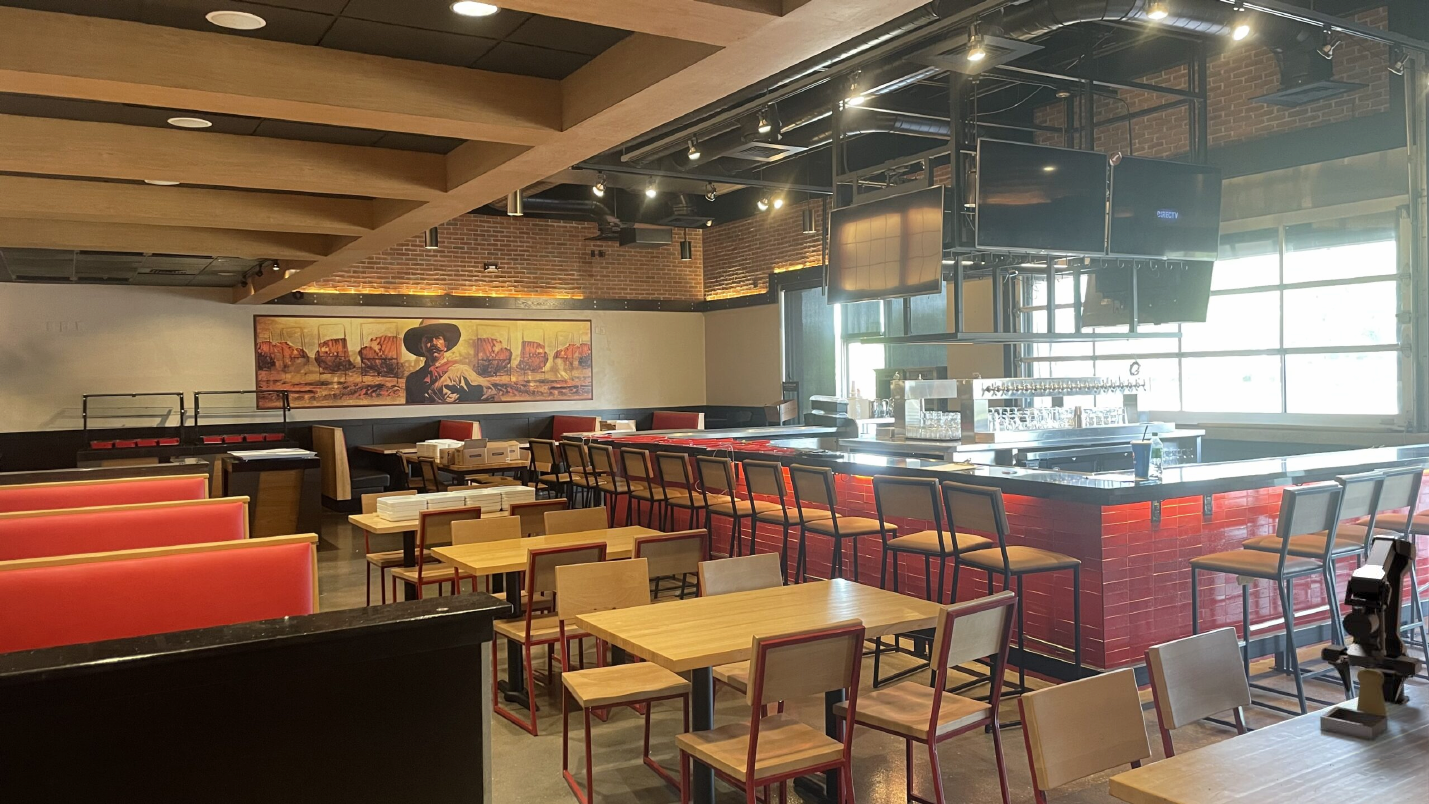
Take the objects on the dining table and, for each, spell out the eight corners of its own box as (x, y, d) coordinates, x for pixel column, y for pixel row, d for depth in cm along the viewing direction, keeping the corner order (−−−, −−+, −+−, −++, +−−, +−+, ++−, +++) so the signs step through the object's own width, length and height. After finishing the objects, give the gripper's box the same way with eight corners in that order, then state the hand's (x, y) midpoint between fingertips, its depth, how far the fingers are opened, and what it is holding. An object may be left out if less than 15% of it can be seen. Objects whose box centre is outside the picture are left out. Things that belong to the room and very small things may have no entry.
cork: (1350, 715, 226) (1349, 668, 226) (1366, 711, 229) (1365, 664, 229) (1377, 723, 221) (1375, 675, 220) (1393, 718, 223) (1392, 671, 223)
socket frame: (1336, 719, 224) (1336, 706, 224) (1387, 729, 216) (1386, 716, 216) (1320, 729, 218) (1320, 716, 218) (1372, 741, 210) (1371, 727, 210)
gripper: (1311, 628, 226) (1313, 695, 227) (1406, 643, 212) (1408, 714, 212) (1328, 620, 234) (1330, 684, 234) (1421, 633, 219) (1423, 702, 219)
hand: (1371, 696), depth 225 cm, fingers open, 9 cm apart
